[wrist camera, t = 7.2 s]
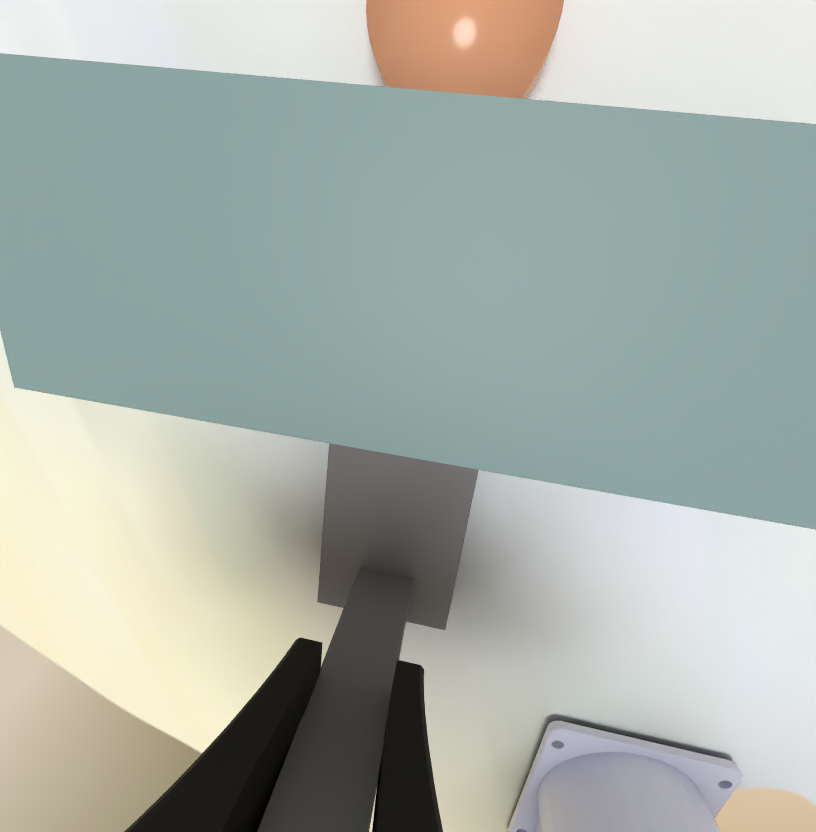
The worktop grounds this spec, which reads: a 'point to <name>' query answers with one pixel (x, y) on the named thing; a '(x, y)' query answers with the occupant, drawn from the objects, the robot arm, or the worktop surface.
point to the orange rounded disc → (463, 44)
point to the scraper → (369, 625)
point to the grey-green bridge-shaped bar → (422, 274)
